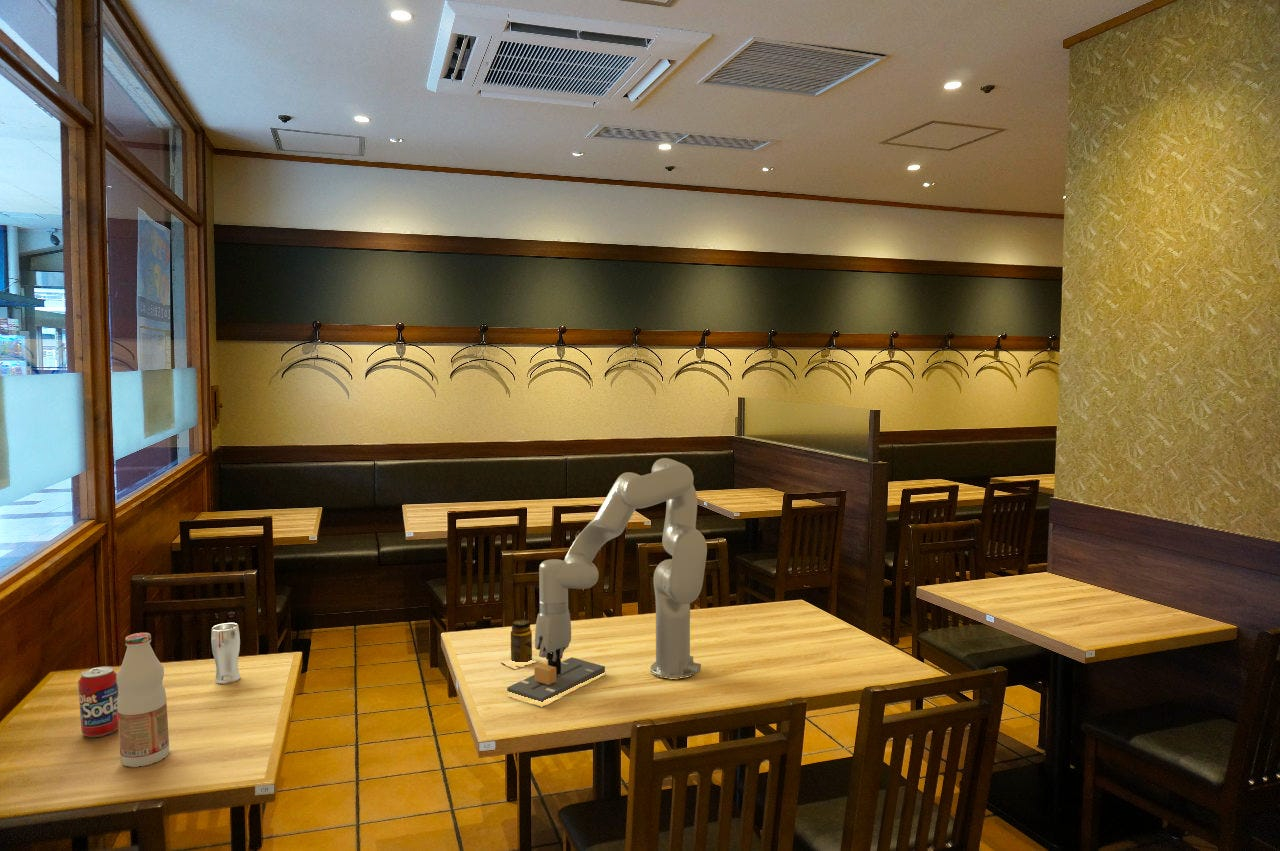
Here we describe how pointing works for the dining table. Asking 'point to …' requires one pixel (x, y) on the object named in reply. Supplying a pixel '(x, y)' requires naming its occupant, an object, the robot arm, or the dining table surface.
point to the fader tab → (545, 674)
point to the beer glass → (226, 652)
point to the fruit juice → (141, 704)
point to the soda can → (98, 701)
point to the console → (558, 680)
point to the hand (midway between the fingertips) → (554, 673)
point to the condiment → (521, 641)
